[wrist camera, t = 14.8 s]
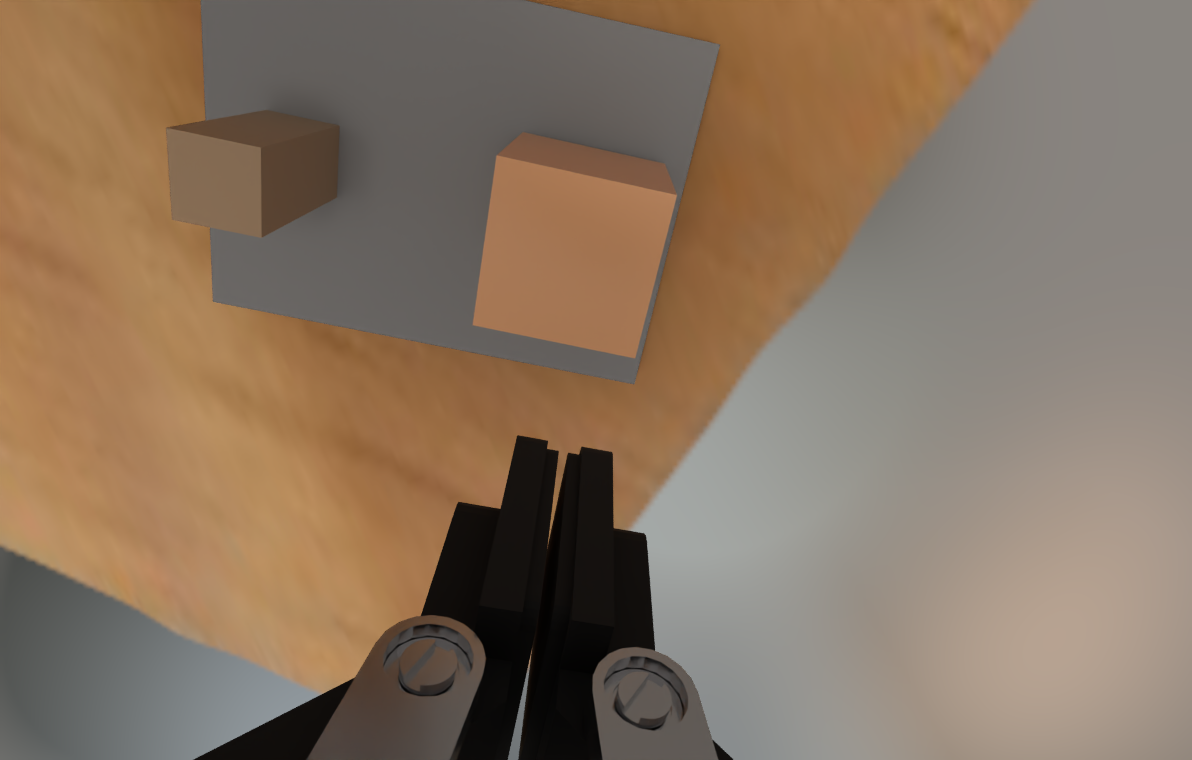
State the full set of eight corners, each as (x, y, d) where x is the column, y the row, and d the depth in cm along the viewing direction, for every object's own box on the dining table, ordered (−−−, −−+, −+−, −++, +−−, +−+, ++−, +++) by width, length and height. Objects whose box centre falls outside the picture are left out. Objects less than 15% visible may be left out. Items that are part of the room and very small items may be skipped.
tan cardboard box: (523, 131, 28) (496, 155, 22) (664, 163, 28) (677, 195, 22) (501, 270, 30) (472, 325, 24) (632, 297, 30) (635, 358, 25)
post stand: (218, -68, 27) (61, -114, 19) (715, 44, 28) (750, 43, 21) (229, 291, 34) (113, 363, 26) (633, 371, 35) (637, 462, 27)
